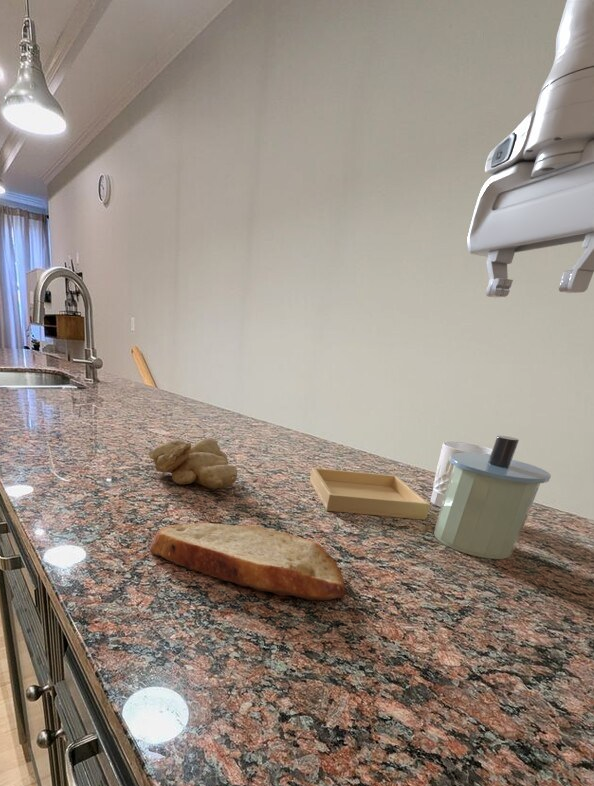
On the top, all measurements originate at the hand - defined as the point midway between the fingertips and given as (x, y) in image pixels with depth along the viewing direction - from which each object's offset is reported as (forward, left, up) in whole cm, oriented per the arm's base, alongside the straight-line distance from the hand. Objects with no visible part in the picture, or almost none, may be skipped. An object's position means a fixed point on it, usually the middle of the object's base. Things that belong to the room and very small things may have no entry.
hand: (530, 294), depth 47 cm
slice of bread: (+27, +10, -30) cm, 42 cm away
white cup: (-9, -18, -30) cm, 37 cm away
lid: (-5, -3, -20) cm, 20 cm away
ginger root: (+35, -19, -30) cm, 50 cm away
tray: (+6, -17, -30) cm, 35 cm away
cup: (-5, -3, -30) cm, 31 cm away
